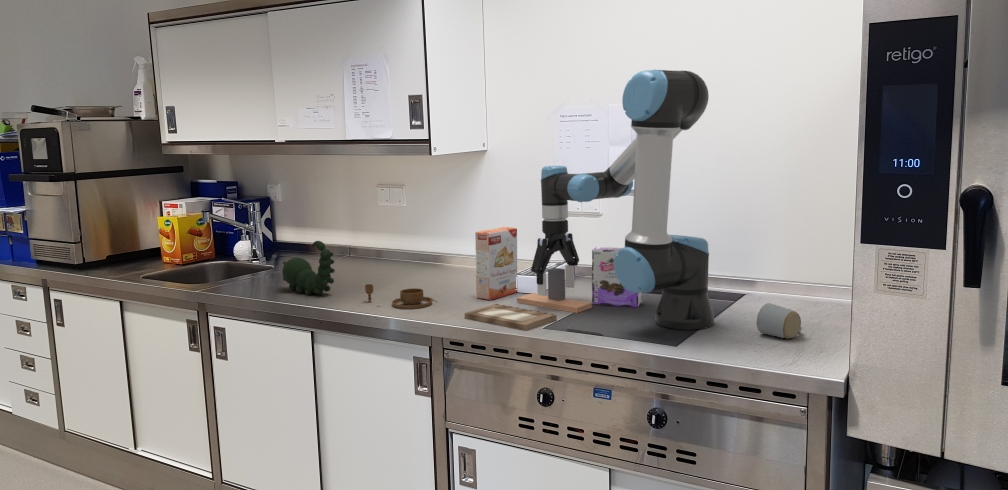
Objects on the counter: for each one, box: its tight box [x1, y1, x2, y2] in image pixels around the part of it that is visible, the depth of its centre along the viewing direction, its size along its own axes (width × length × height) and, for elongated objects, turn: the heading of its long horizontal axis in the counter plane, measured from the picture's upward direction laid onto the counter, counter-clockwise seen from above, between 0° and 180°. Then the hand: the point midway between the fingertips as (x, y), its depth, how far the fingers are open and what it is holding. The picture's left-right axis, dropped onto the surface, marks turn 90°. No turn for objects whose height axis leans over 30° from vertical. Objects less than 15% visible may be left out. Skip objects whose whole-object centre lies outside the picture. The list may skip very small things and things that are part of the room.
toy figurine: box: [281, 240, 336, 296], centre depth 248 cm, size 9×19×25 cm
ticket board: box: [464, 303, 557, 331], centre depth 209 cm, size 22×13×2 cm, turn 49°
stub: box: [516, 267, 593, 314], centre depth 223 cm, size 22×7×10 cm, turn 49°
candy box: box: [591, 246, 643, 308], centre depth 222 cm, size 14×6×16 cm, turn 68°
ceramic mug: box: [756, 302, 803, 340], centre depth 186 cm, size 11×8×8 cm
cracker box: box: [474, 226, 518, 301], centre depth 236 cm, size 14×6×21 cm, turn 141°
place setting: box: [364, 284, 439, 310], centre depth 231 cm, size 18×20×6 cm
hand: (556, 291), depth 224 cm, fingers open, 13 cm apart
